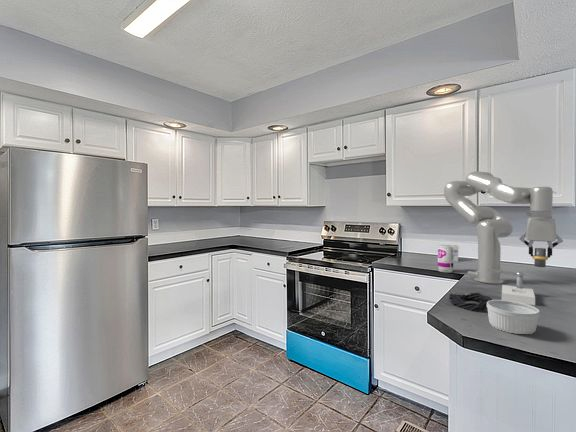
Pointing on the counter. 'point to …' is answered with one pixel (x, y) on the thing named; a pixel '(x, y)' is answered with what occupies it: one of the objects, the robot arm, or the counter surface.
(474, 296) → the cable
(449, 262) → the supplement can
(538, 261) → the plug
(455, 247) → the light bulb box
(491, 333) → the counter surface
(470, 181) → the robot arm
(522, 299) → the socket block
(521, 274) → the clip
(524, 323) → the ramekin
